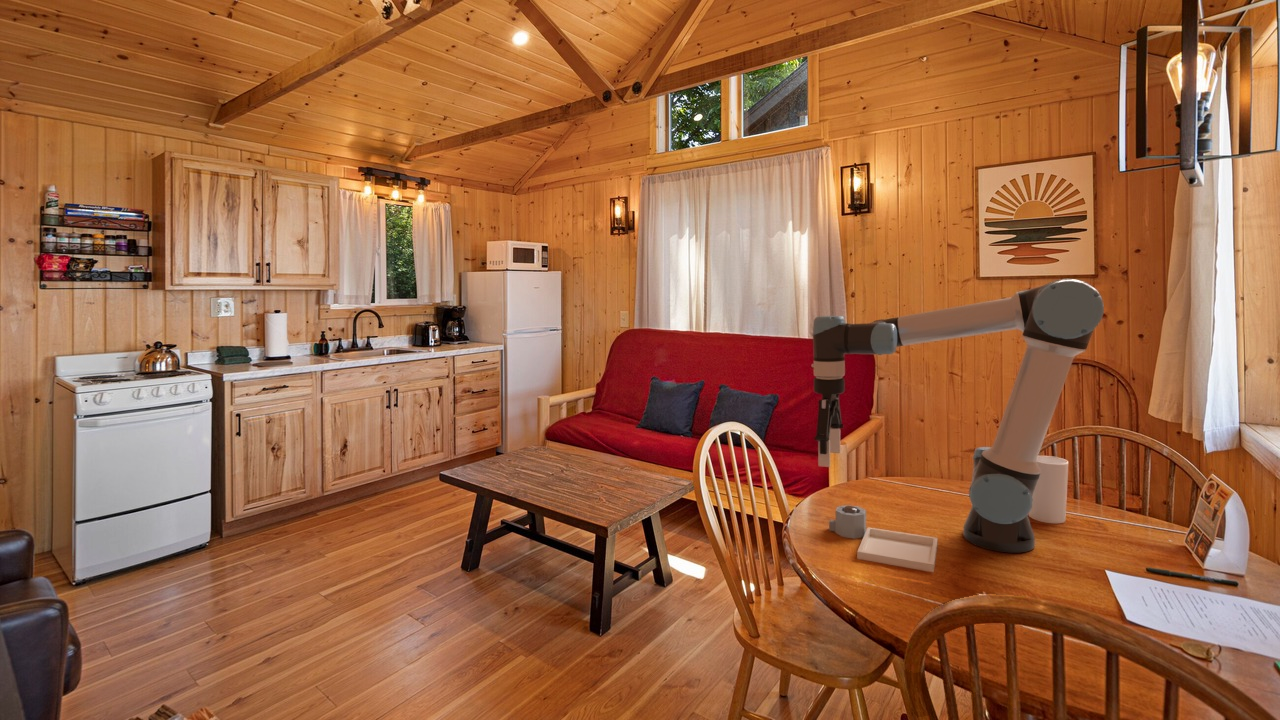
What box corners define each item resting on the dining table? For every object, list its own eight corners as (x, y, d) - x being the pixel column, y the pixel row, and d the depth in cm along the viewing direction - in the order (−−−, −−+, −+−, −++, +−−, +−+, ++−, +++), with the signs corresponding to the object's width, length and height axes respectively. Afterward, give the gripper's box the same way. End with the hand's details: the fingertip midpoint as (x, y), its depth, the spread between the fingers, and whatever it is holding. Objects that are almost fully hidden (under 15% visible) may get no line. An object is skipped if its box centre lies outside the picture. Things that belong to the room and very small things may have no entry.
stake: (864, 532, 157) (865, 505, 156) (860, 540, 151) (861, 513, 151) (840, 528, 160) (840, 502, 159) (836, 536, 154) (836, 510, 154)
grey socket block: (867, 530, 157) (867, 507, 156) (862, 540, 151) (863, 516, 150) (832, 524, 161) (832, 503, 160) (826, 534, 155) (827, 511, 154)
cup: (1071, 524, 158) (1074, 464, 156) (1036, 522, 159) (1039, 463, 158) (1056, 512, 166) (1059, 456, 164) (1023, 511, 167) (1025, 455, 166)
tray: (937, 546, 147) (937, 537, 147) (933, 574, 133) (933, 564, 133) (867, 535, 154) (867, 527, 154) (857, 560, 140) (857, 551, 140)
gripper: (823, 370, 166) (824, 446, 168) (802, 383, 144) (803, 470, 146) (852, 371, 162) (853, 448, 164) (834, 384, 140) (835, 474, 142)
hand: (829, 459), depth 155 cm, fingers open, 13 cm apart
